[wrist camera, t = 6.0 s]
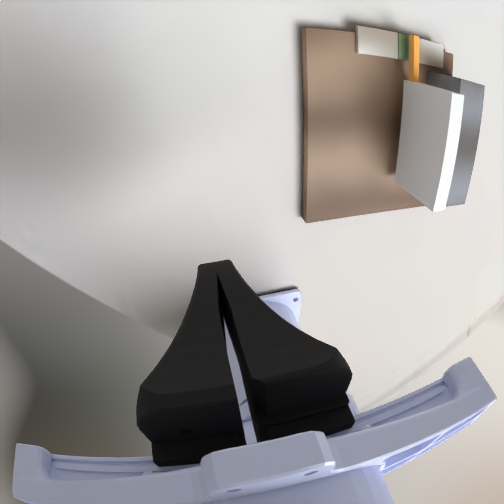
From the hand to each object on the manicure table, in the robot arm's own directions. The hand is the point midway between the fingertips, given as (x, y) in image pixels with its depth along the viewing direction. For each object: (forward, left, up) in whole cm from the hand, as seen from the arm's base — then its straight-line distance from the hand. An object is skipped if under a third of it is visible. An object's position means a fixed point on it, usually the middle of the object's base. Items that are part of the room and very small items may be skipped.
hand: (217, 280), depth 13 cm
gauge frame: (+4, -13, -9) cm, 17 cm away
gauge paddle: (+5, -15, -8) cm, 18 cm away
